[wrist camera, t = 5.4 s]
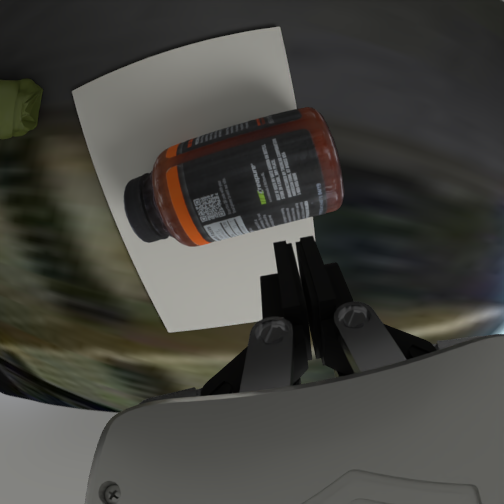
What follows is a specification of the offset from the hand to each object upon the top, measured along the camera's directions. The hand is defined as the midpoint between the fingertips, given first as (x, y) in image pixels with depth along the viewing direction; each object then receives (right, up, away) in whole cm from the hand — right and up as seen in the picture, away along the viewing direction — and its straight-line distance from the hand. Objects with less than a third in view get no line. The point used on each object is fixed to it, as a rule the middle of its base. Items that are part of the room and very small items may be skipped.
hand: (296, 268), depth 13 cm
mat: (-5, +4, +8) cm, 10 cm away
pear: (-21, +13, +3) cm, 25 cm away
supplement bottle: (+3, +6, +3) cm, 7 cm away
